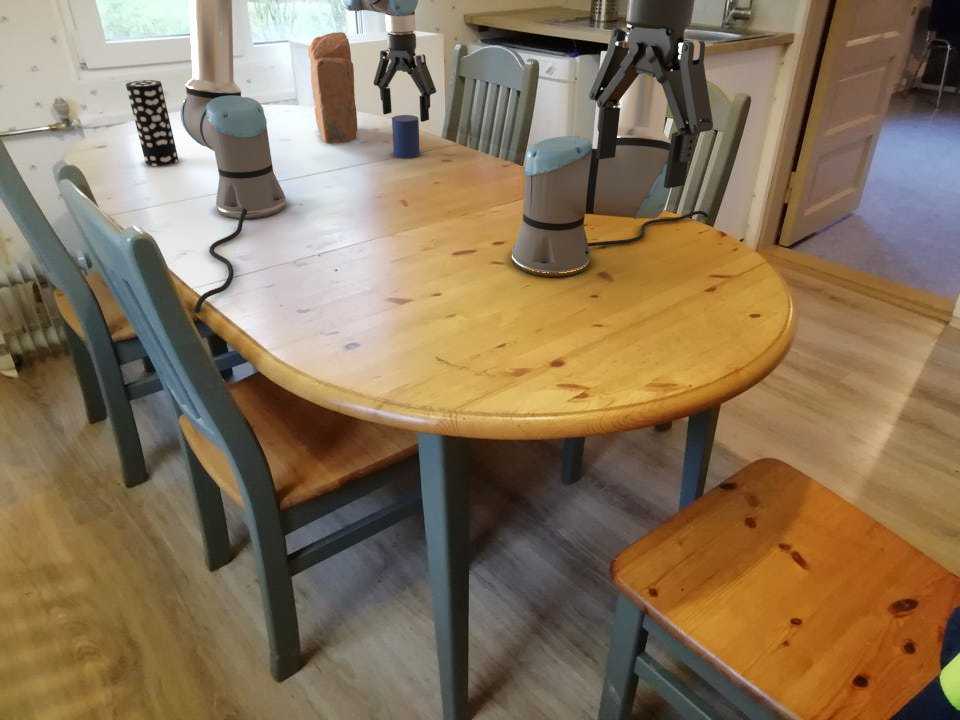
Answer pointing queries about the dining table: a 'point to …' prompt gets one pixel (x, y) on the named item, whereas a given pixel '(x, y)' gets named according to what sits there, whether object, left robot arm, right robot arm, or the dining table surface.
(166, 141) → the black white spotted cylinder
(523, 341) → the dining table surface
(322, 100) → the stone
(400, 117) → the can
